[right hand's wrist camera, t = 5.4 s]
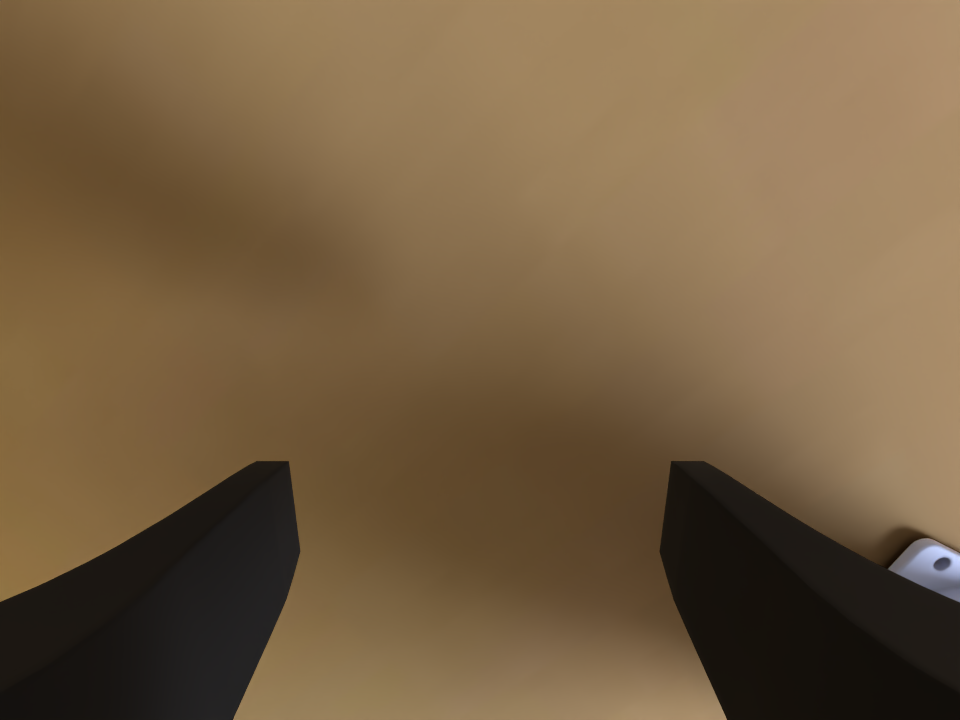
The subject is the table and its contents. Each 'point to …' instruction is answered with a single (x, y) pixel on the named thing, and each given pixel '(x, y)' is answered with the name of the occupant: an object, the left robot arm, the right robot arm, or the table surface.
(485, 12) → the table surface
